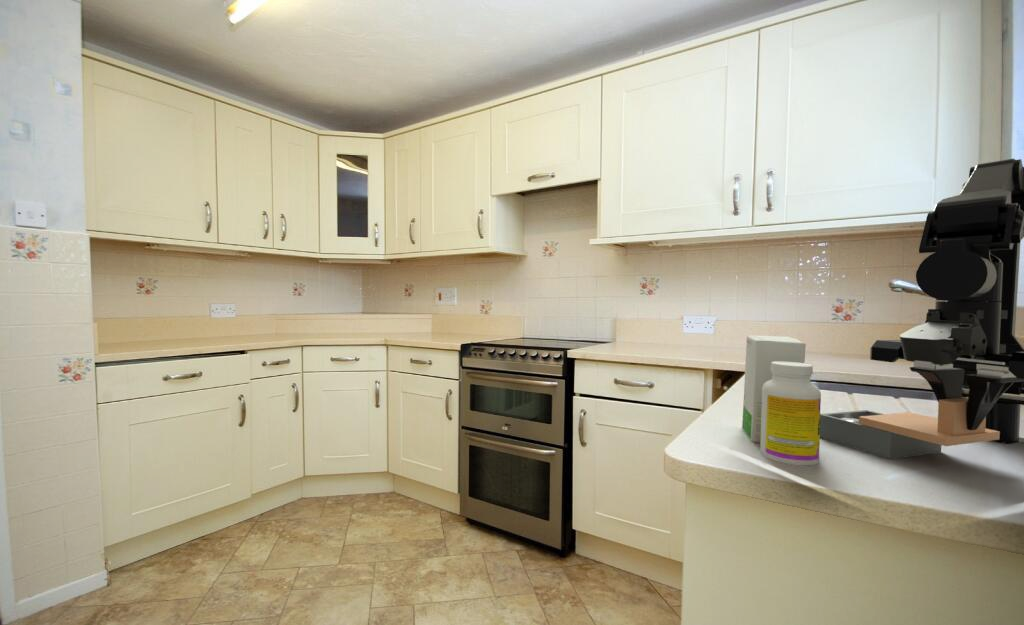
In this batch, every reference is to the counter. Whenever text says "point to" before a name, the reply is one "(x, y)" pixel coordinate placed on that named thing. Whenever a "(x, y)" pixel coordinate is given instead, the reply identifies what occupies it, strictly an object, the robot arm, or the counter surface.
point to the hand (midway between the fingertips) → (961, 427)
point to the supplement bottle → (790, 415)
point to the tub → (871, 436)
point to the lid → (934, 425)
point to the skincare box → (764, 374)
